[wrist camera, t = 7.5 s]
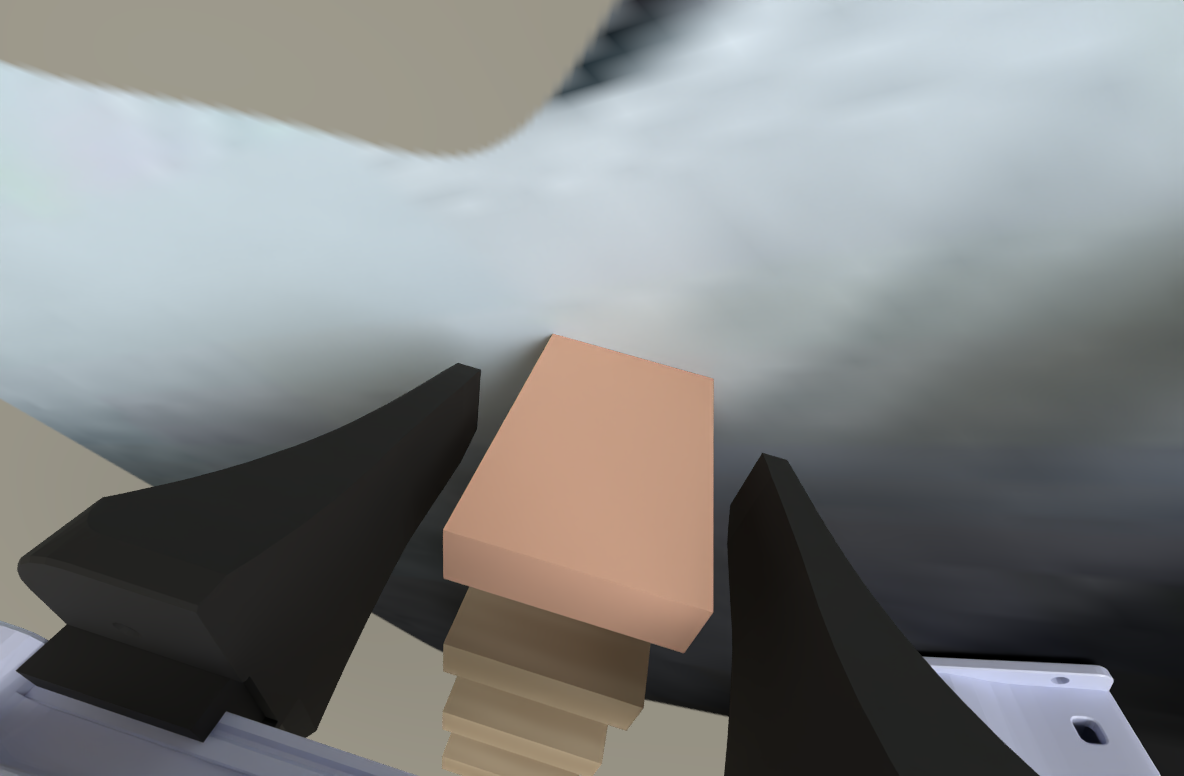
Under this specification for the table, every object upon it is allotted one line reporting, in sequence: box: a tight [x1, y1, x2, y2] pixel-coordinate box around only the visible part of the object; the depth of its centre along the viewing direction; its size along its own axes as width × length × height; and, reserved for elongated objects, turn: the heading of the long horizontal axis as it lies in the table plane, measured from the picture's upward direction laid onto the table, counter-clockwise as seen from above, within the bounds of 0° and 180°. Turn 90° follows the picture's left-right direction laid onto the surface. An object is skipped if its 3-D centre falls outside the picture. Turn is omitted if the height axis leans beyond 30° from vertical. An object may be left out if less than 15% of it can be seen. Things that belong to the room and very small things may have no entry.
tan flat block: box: [443, 676, 608, 776], centre depth 17 cm, size 2×5×7 cm, turn 79°
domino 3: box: [442, 732, 579, 776], centre depth 20 cm, size 2×5×7 cm, turn 79°
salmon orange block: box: [443, 334, 714, 653], centre depth 11 cm, size 2×5×7 cm, turn 79°
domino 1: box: [443, 586, 650, 730], centre depth 14 cm, size 2×5×7 cm, turn 79°
